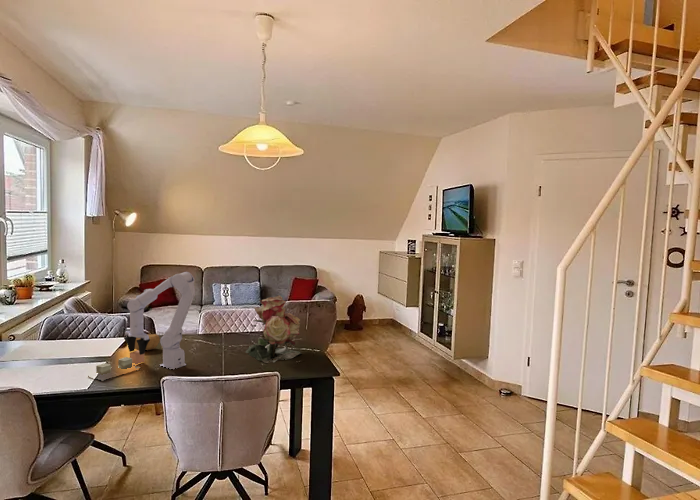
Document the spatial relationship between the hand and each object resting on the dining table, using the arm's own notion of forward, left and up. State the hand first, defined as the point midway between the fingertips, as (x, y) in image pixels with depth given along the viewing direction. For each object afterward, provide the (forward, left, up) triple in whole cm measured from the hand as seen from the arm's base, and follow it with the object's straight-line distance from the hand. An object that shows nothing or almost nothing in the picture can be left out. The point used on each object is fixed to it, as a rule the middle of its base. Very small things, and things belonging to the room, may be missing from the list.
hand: (136, 352), depth 208 cm
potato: (+15, -15, -6) cm, 22 cm away
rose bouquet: (-44, -48, -6) cm, 65 cm away
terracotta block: (0, 0, -5) cm, 5 cm away
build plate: (-3, +13, -5) cm, 14 cm away
